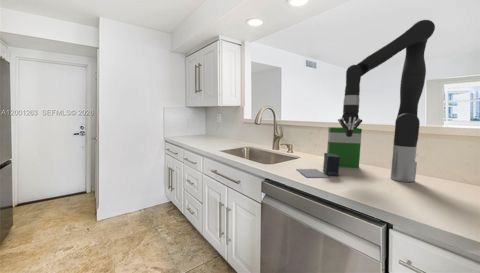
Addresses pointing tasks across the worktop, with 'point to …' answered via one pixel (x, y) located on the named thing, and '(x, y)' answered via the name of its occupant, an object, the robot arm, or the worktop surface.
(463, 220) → the worktop surface
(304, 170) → the mat
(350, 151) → the green cereal box
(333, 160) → the small box
